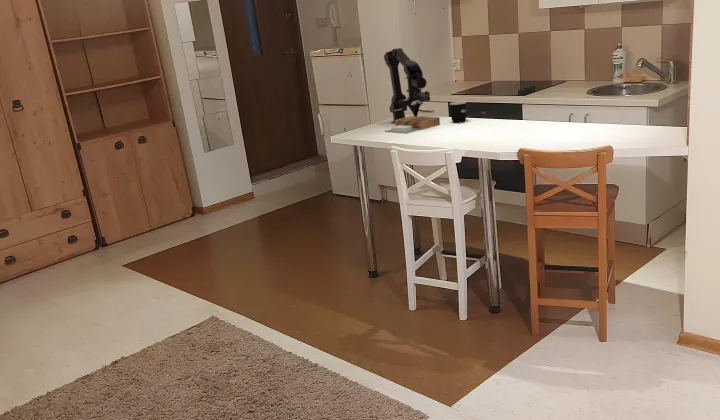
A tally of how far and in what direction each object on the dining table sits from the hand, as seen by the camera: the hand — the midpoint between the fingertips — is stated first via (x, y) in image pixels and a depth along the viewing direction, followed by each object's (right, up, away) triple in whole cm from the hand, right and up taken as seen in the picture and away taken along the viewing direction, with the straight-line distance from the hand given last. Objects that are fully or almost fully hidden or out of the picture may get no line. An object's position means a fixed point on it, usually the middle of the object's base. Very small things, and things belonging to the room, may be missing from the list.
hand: (415, 116), depth 355 cm
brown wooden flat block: (+1, -5, +3) cm, 6 cm away
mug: (+24, -2, +3) cm, 25 cm away
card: (-8, -6, -6) cm, 12 cm away
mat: (-8, -8, -5) cm, 12 cm away
